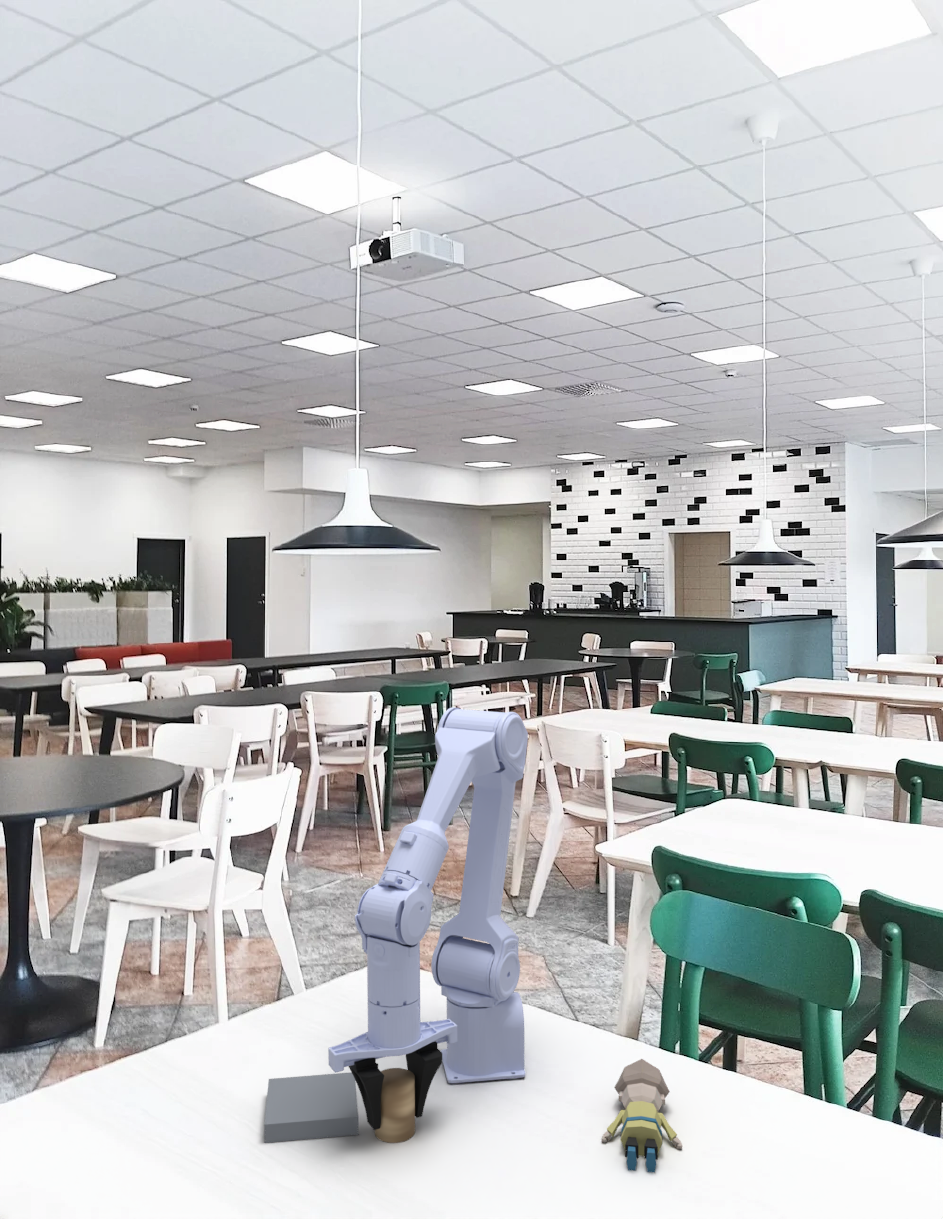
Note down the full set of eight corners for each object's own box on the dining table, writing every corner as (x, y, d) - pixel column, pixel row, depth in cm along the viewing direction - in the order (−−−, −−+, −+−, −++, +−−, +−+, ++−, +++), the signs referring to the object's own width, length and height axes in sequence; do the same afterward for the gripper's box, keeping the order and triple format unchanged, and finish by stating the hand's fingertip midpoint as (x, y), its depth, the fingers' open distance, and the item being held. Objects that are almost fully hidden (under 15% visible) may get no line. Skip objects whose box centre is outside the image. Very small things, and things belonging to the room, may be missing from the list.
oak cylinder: (413, 1119, 114) (412, 1066, 114) (417, 1140, 110) (416, 1086, 110) (373, 1122, 114) (373, 1069, 113) (376, 1144, 109) (375, 1089, 109)
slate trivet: (355, 1088, 121) (354, 1072, 121) (358, 1134, 111) (358, 1116, 111) (269, 1095, 120) (268, 1078, 119) (264, 1142, 110) (264, 1124, 110)
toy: (684, 1183, 104) (679, 1100, 118) (684, 1133, 103) (679, 1055, 118) (599, 1176, 105) (605, 1094, 120) (599, 1126, 104) (604, 1050, 119)
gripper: (437, 970, 118) (438, 1086, 119) (317, 996, 111) (319, 1118, 112) (465, 992, 112) (466, 1114, 112) (341, 1021, 105) (342, 1150, 106)
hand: (395, 1118), depth 112 cm, fingers closed on oak cylinder, 4 cm apart
